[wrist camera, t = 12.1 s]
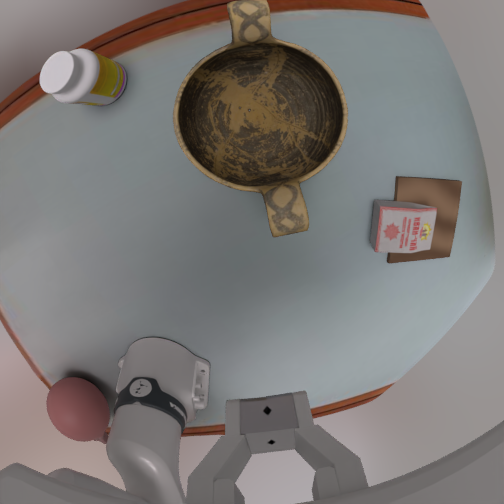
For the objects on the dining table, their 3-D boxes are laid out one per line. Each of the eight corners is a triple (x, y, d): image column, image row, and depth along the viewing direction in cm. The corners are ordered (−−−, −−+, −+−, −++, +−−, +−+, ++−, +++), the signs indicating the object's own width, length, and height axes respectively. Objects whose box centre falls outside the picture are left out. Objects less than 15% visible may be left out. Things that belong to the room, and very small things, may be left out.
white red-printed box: (374, 199, 39) (431, 204, 37) (369, 241, 42) (425, 244, 40) (380, 206, 35) (441, 211, 34) (374, 251, 38) (433, 254, 37)
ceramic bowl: (329, 189, 38) (377, 224, 24) (208, 210, 38) (192, 258, 25) (303, 35, 29) (340, -10, 15) (176, 55, 29) (141, 16, 16)
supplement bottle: (121, 54, 28) (76, 30, 17) (133, 92, 31) (89, 79, 19) (82, 77, 29) (28, 66, 17) (93, 114, 32) (39, 114, 20)
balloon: (92, 413, 59) (77, 457, 45) (50, 363, 51) (24, 410, 37) (137, 415, 58) (125, 465, 44) (94, 362, 50) (70, 417, 36)
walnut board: (447, 254, 43) (449, 256, 43) (386, 261, 43) (388, 263, 42) (458, 180, 38) (461, 181, 37) (395, 176, 37) (398, 177, 37)
